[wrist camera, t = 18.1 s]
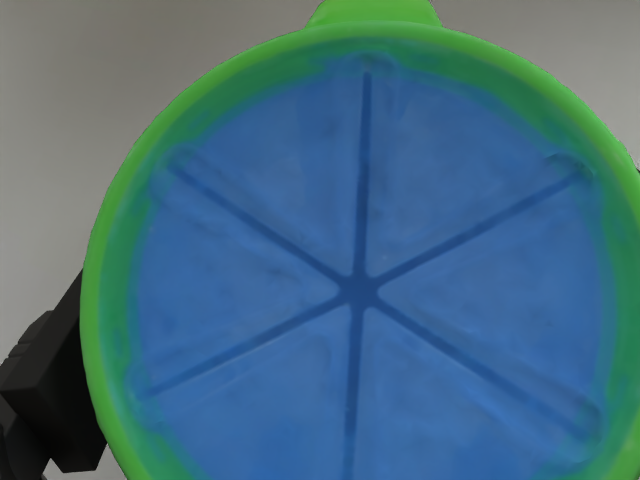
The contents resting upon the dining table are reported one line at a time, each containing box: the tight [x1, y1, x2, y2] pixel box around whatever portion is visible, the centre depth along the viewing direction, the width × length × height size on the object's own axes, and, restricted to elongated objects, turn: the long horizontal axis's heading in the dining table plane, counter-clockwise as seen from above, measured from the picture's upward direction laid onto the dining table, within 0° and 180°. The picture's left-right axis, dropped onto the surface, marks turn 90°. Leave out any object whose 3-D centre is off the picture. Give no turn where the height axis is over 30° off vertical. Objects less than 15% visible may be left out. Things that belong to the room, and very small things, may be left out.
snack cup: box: [80, 0, 640, 480], centre depth 14 cm, size 16×10×10 cm
